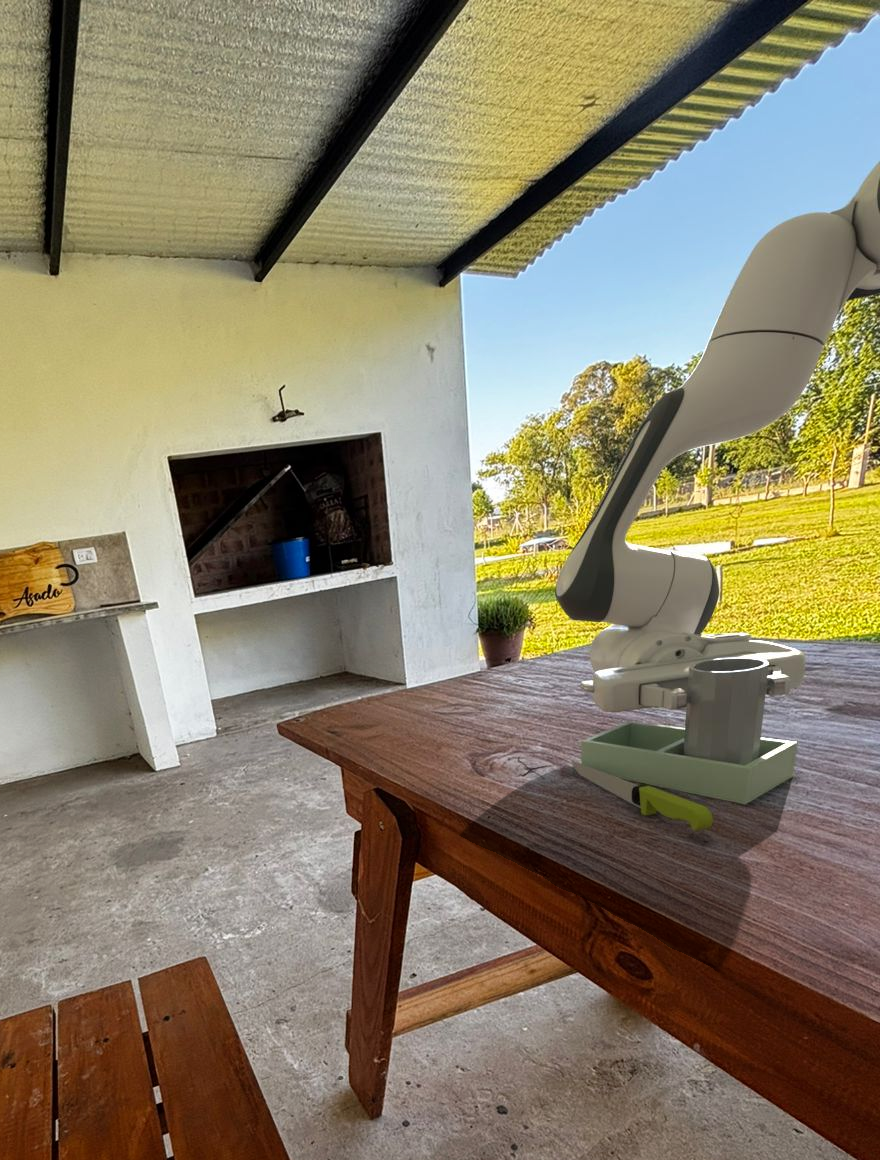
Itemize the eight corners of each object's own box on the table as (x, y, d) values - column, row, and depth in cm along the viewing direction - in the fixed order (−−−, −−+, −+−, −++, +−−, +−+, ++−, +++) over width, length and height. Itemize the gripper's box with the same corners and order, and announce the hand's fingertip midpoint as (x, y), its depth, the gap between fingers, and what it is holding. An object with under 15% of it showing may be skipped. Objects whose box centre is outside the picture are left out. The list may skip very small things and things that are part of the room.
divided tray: (628, 751, 78) (629, 720, 77) (793, 779, 63) (798, 741, 62) (581, 773, 74) (581, 741, 73) (744, 808, 60) (748, 768, 58)
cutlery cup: (703, 762, 69) (711, 656, 65) (769, 773, 64) (782, 658, 60) (669, 779, 67) (675, 670, 62) (735, 792, 61) (746, 673, 57)
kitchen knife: (567, 783, 75) (566, 760, 74) (577, 781, 75) (576, 758, 74) (700, 843, 54) (700, 811, 53) (713, 840, 54) (714, 808, 53)
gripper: (574, 658, 75) (620, 679, 62) (759, 629, 71) (847, 646, 59) (575, 708, 77) (619, 738, 64) (754, 683, 74) (838, 710, 61)
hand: (730, 694), depth 61 cm, fingers open, 8 cm apart
